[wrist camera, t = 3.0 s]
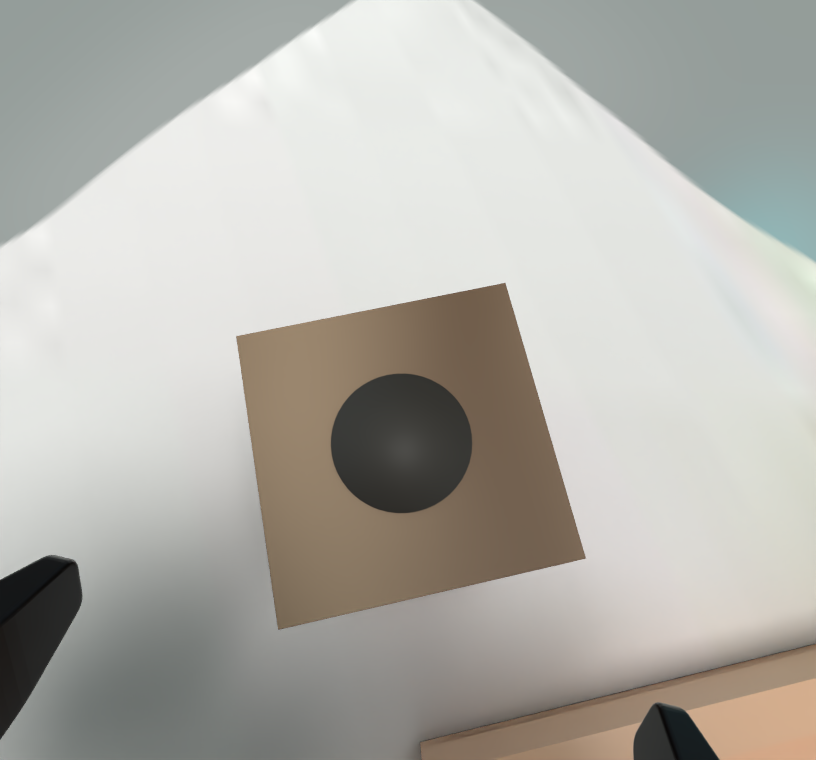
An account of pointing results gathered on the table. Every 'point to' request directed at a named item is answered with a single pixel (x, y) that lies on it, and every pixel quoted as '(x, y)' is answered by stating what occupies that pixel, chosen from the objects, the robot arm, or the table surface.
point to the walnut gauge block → (401, 455)
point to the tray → (697, 694)
